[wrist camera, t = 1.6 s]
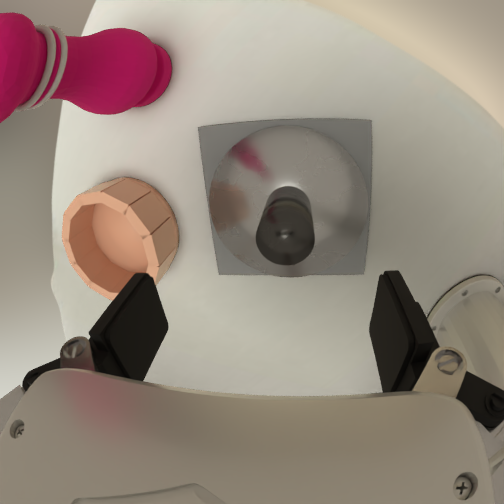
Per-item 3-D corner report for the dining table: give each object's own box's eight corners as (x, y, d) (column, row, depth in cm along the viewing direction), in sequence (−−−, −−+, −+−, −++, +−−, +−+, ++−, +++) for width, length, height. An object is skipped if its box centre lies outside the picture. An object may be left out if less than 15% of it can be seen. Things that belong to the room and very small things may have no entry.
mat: (370, 120, 19) (371, 120, 19) (363, 272, 26) (363, 274, 25) (199, 127, 22) (197, 127, 21) (219, 272, 28) (218, 274, 28)
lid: (365, 125, 19) (395, 132, 13) (359, 269, 25) (374, 320, 19) (204, 132, 22) (167, 141, 15) (223, 270, 27) (201, 318, 21)
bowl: (167, 170, 24) (140, 184, 20) (188, 276, 29) (170, 305, 25) (81, 185, 26) (50, 200, 22) (106, 273, 31) (83, 297, 26)
